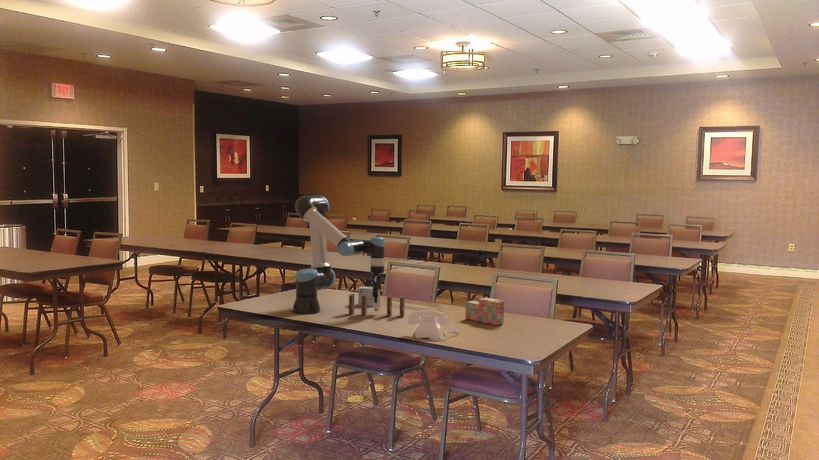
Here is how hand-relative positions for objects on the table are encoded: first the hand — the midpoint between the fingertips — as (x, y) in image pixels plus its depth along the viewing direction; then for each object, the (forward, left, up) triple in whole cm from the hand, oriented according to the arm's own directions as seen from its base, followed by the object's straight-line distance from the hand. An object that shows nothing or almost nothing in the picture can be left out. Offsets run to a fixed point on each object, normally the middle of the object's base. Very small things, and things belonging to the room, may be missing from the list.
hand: (376, 307), depth 351 cm
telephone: (+35, -41, -5) cm, 54 cm away
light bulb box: (-10, +28, -5) cm, 30 cm away
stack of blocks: (+58, -3, -5) cm, 59 cm away
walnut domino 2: (-7, 0, -4) cm, 8 cm away
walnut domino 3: (+7, 0, -4) cm, 8 cm away
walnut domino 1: (-14, 0, -4) cm, 15 cm away
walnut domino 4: (+14, 0, -4) cm, 15 cm away
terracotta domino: (0, 0, -1) cm, 1 cm away
